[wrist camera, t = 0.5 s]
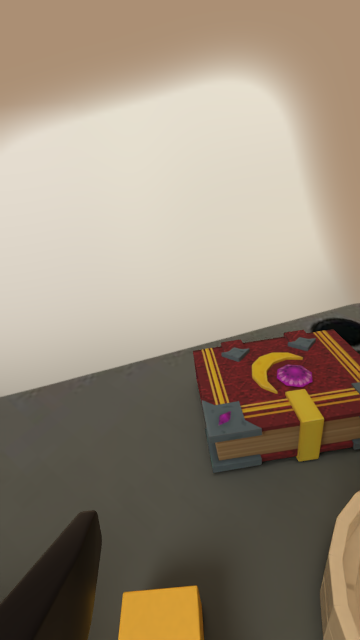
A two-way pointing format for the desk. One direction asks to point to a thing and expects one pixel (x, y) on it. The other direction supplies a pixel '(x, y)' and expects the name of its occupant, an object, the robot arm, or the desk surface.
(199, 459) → the desk surface
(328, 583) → the bowl
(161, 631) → the block
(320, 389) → the decorative book
